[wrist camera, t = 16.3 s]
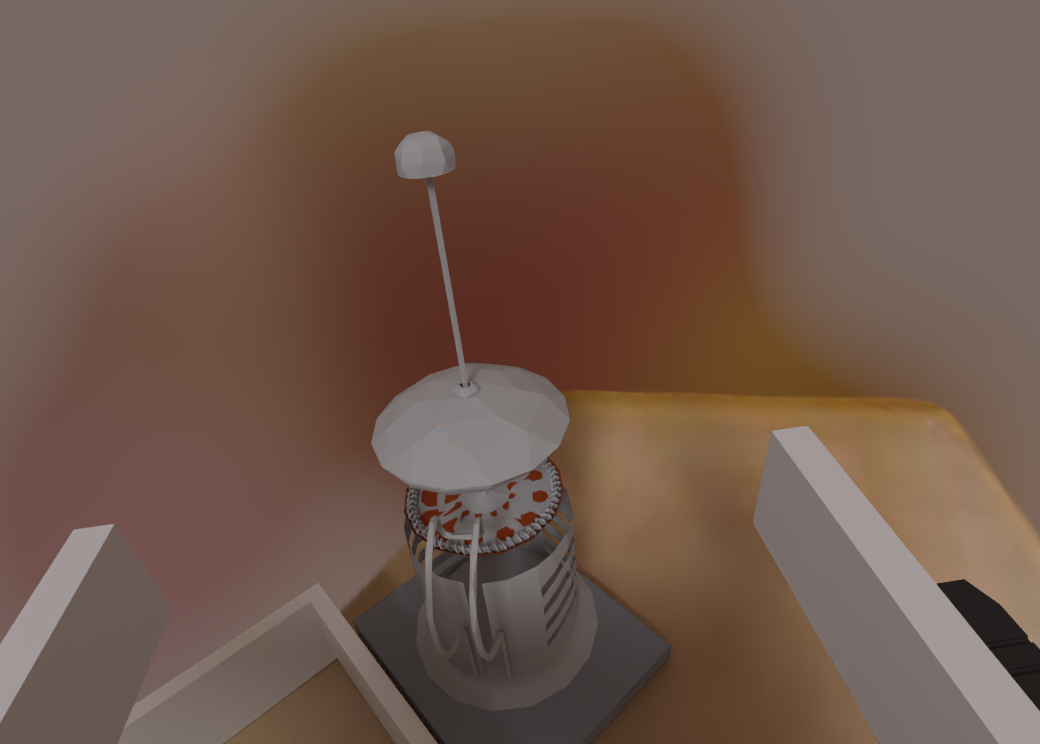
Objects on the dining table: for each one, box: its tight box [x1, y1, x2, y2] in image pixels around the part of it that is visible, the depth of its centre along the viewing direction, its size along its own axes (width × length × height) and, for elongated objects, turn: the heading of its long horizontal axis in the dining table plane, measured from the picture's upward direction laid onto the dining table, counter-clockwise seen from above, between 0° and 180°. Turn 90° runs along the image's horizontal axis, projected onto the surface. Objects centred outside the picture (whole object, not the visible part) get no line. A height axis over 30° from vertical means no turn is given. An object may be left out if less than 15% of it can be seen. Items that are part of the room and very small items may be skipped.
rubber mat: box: [353, 544, 671, 744], centre depth 32 cm, size 13×11×1 cm
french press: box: [371, 131, 598, 711], centre depth 25 cm, size 10×12×25 cm
